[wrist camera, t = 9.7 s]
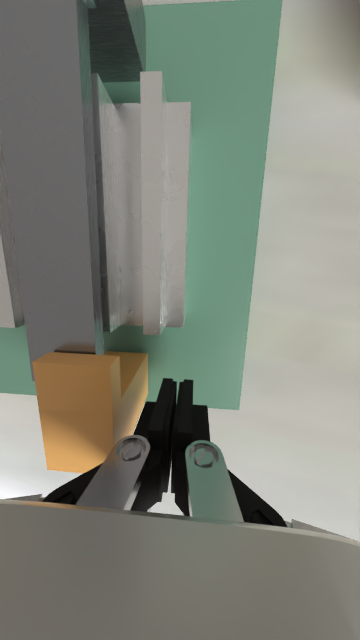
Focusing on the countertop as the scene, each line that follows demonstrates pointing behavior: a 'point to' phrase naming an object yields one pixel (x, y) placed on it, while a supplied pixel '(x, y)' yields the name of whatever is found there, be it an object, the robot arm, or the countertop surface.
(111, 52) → the heat sink
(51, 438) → the block
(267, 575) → the robot arm
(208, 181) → the circuit board
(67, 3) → the strap
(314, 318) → the countertop surface
